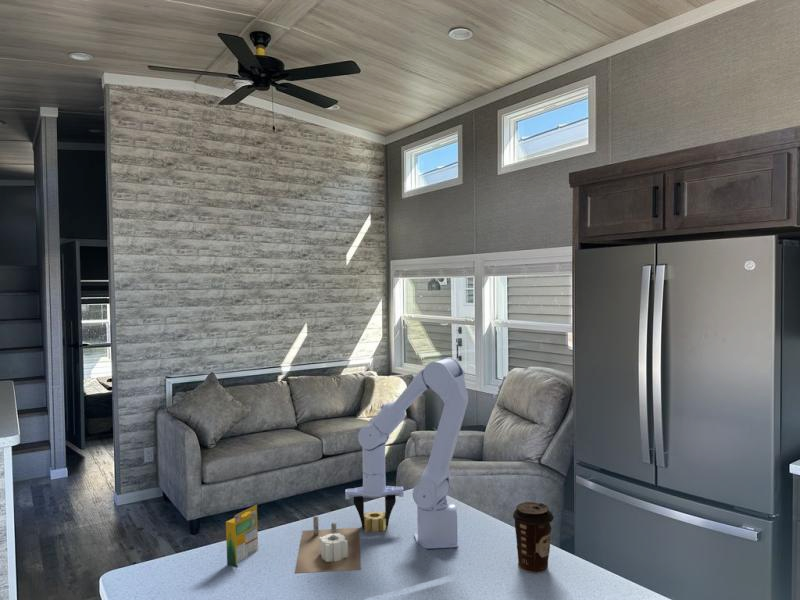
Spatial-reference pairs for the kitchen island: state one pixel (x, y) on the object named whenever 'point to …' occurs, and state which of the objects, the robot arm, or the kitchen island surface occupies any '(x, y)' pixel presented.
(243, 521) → the crayon box
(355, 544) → the gear board
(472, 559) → the kitchen island surface
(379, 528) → the brass gear
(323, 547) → the nylon gear
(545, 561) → the coffee cup
